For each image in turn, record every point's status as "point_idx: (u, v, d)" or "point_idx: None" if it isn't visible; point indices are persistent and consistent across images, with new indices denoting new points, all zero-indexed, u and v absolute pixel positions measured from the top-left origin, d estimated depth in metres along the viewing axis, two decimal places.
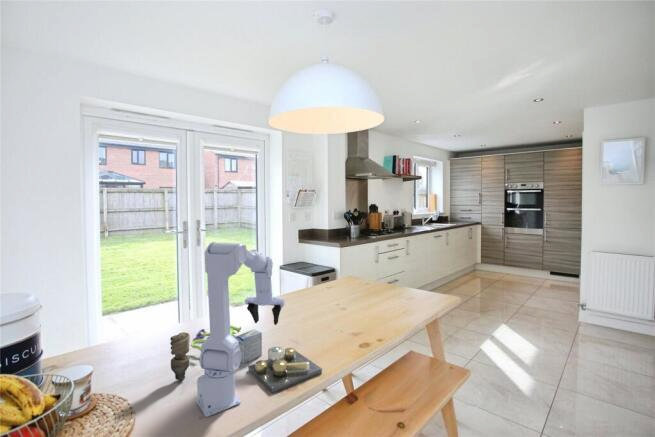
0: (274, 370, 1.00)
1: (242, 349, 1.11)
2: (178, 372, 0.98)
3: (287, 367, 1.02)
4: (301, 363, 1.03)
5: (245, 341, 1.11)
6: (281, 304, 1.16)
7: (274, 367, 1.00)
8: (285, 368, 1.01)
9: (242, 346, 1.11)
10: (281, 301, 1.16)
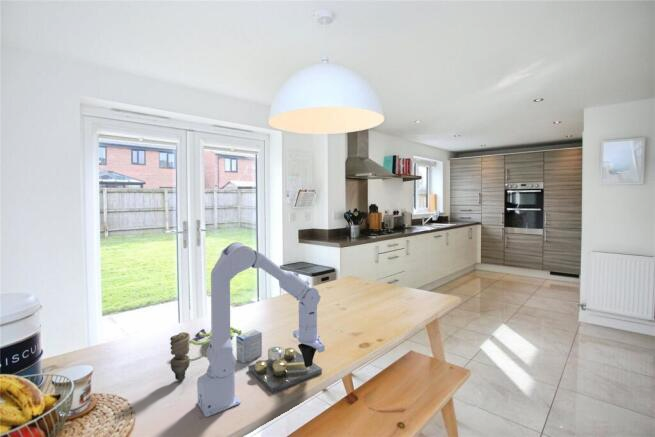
0: (274, 370, 1.00)
1: (242, 349, 1.11)
2: (178, 372, 0.98)
3: (287, 367, 1.02)
4: (301, 363, 1.03)
5: (245, 341, 1.11)
6: (318, 349, 0.96)
7: (274, 367, 1.00)
8: (285, 368, 1.01)
9: (242, 346, 1.11)
10: (320, 345, 0.96)
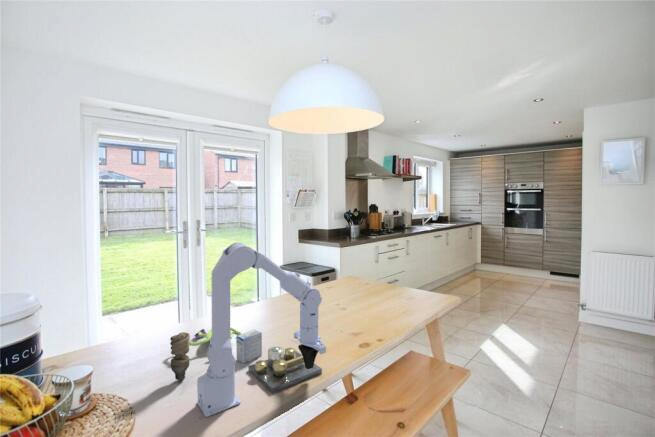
0: (277, 371, 1.00)
1: (242, 349, 1.11)
2: (178, 372, 0.98)
3: (287, 365, 1.03)
4: (298, 358, 1.06)
5: (245, 341, 1.11)
6: (320, 351, 0.95)
7: (277, 368, 1.00)
8: (286, 366, 1.02)
9: (242, 346, 1.11)
10: (321, 347, 0.96)
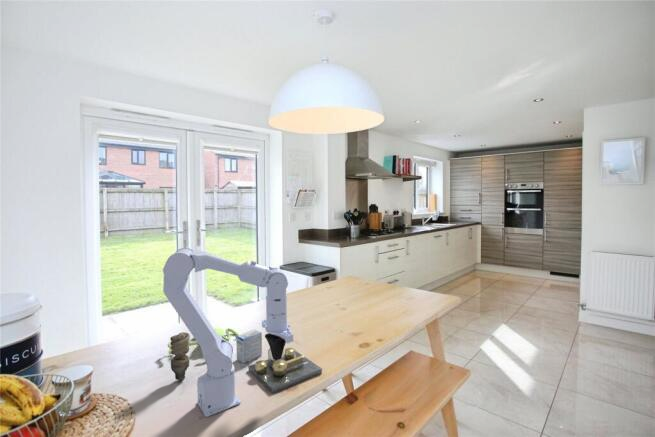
0: (277, 371, 1.00)
1: (242, 349, 1.11)
2: (178, 372, 0.98)
3: (287, 365, 1.03)
4: (297, 358, 1.06)
5: (245, 341, 1.11)
6: (286, 339, 0.86)
7: (277, 368, 1.00)
8: (286, 366, 1.02)
9: (242, 346, 1.11)
10: (288, 335, 0.87)
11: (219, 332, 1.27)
